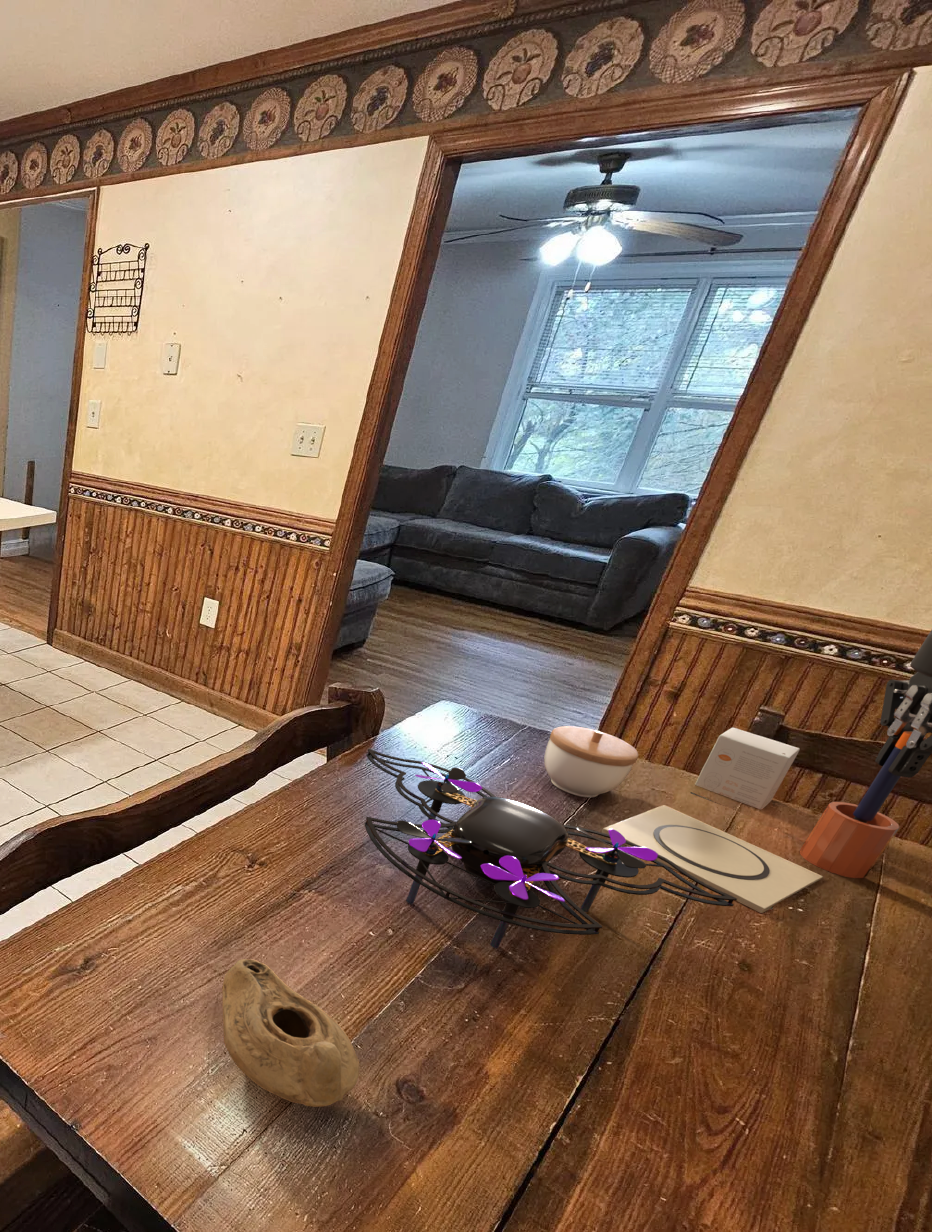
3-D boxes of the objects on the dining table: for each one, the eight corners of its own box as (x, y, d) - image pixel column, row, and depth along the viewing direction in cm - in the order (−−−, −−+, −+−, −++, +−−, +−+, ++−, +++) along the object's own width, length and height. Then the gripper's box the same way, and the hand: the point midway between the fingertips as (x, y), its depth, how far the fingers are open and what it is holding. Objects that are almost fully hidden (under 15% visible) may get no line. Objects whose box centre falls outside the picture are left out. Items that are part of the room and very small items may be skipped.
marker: (851, 818, 102) (907, 729, 96) (871, 826, 101) (929, 736, 95) (845, 821, 101) (901, 732, 96) (865, 829, 100) (923, 739, 94)
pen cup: (810, 847, 108) (841, 797, 104) (872, 874, 103) (907, 823, 99) (789, 857, 105) (820, 807, 102) (852, 886, 100) (887, 834, 97)
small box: (766, 810, 116) (802, 748, 112) (754, 821, 113) (791, 757, 109) (700, 785, 122) (732, 725, 117) (687, 795, 119) (719, 734, 114)
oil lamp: (260, 983, 79) (277, 921, 75) (380, 1107, 67) (407, 1040, 63) (170, 1013, 75) (184, 949, 71) (280, 1151, 63) (304, 1082, 59)
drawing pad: (661, 809, 115) (664, 803, 114) (820, 881, 101) (824, 875, 100) (600, 832, 108) (603, 826, 108) (761, 913, 94) (765, 907, 93)
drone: (750, 873, 84) (698, 995, 67) (709, 942, 89) (649, 1073, 72) (382, 731, 111) (278, 793, 94) (364, 789, 115) (261, 858, 98)
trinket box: (581, 769, 125) (605, 717, 120) (635, 806, 115) (663, 751, 111) (517, 768, 124) (539, 715, 120) (566, 805, 114) (591, 749, 110)
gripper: (1074, 667, 83) (973, 805, 91) (973, 626, 95) (892, 751, 102) (984, 654, 85) (892, 790, 93) (896, 617, 97) (822, 740, 104)
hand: (892, 769), depth 97 cm, fingers closed on marker, 2 cm apart
